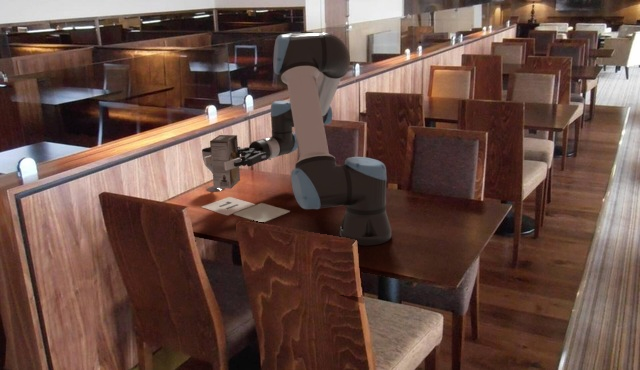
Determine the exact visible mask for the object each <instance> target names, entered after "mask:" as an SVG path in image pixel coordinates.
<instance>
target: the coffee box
mask: <svg viewBox="0 0 640 370" xmlns="http://www.w3.org/2000/svg"><path fill="white" fill-rule="evenodd" d="M238 145H239V144H238V135H237V134H233V135H231V134H219V135H218V136H216V137H213V139H212V140H210V141H209V147H210V148H211V160H212V172H211V173H213V174H212V184H213V185H212V186H214V188H225V189H227V190H230V189H233V188H234V187H235V186H236V185H237V184H238V183H239V182H240V181H241V173H240V167H236V168H233V169H230V170H227V171H226V170H225V165H224V162H226V161H230V160H233V159H237V158H239V157H238V147H239V146H238Z"/></svg>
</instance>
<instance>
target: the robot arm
mask: <svg viewBox="0 0 640 370" xmlns="http://www.w3.org/2000/svg"><path fill="white" fill-rule="evenodd" d="M272 60H273V72H274V74H276V75H277V76H278V75H279V76H280V80H281V81H282V83H284V84H285V85H287V91H288V96H289V98H288V99H289V100H274V101H272V103H271V104H270V123H271V124H270V125H271V136H269V137H264V138H262V139H258V140H254V141H252V142H251V143H250V144H249V146H247V147H246V146H245V147H242V148H241V147H240V146H238V157H239V158H237V159H233V160H230V161H226V162H224V165H225V170H226V171H227V170H230V169H233V168H236V167H239V168H240V167H242V166H243V167H245V166H247V167H249V168H250V167H252V166H254V165H256V164H258V163H261V162H265V161H267V160H269V161H270V160H272V159H273V158H277V157H280V156H285V155H289V154H291V153H293V152H294V151H296V150H297V151H298V157H299V159H298V160H297V161H296V162H295V164H294V166H295V167H294V169H292V171H291V172H290V180H291V186H292V192H293V195H294V198H295V200H296V202H297V204H298V206H299V207H301V208H302V209H304V210H320V209H327V208H335V207H341V206H345V212H344V216H343V217H342V221H341V223H340V228H339V237H340V236H341V237H346V238H350V239H355V240H357V241H358V244H359V245H358V246H367V247H368V246H377V245H378V246H379V245H382V244H384V243H387V242H388V241H390V239H392V227H391V224H390V221H389V217H388V215H387V207H386V206H387V180H388V177H387V167H386V165H385V164H384V162H382V161H380V160H378V159H375V158H371V157H365V156H350V157H347V158H346V159H345V161H344V164H337V162H336V157H335V156H334V155H332V154H330V153H329V152H330V151H329V147H328V141H327V140H328V139H327V136H326V130H325V125H330V124H331V123H332V121H333V110H332V109H333V108H332V106H331V104H332V102H333V99H334V96H335V95H336V92H337V90H338V87H339V84H340V81H342V79H343V78H344V77H345V76H346V75H347V73H348V70H349V68H350V63H351V56H350V52H349V49H348V47H347V45H346V44H345V43H344V41H343V40H342V39H341V38H339V37H338V36H336V35H335V34H332V33H330V32H310V33H309V32H308V33H306V32H305V33H291V32H290V33H286V34H280V35H277V37H276V39H275V42H274V49H273V59H272ZM293 128H294V132H293ZM203 163H205V164H204V166H205V165H209V164H212V160H211V155H210V156H207V157H204V161H203ZM341 237H340V238H341Z"/></svg>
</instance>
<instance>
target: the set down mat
mask: <svg viewBox="0 0 640 370" xmlns="http://www.w3.org/2000/svg"><path fill="white" fill-rule="evenodd" d="M290 212H291V210H288V209H284V208H282V207H276V206H274V205H270V204H267V203H264V202H260V203H258V204H256V205H254V206H251V207H248V208H246V209H243V210H241V211H238V212H235V213H233V215H234V216H237V217H239V218H240V217H241V218H244V219H246V220H249V221H253V220H254V221H253V222H256V221H258V222H257V223H259V222H264V223H266V222H269V221H272V220H273V219H276V218H278V217H281V216H283V215H285V214H288V213H290Z"/></svg>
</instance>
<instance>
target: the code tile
mask: <svg viewBox="0 0 640 370" xmlns="http://www.w3.org/2000/svg"><path fill="white" fill-rule="evenodd" d="M255 205H257V204H255V203H253V202H249V201H245V200H242V199H238V198H236V197H232V196H227V197H224V198H222V199H220V200H216V201H214V202H210V203H207V204H205V205H201V209H205V210H208V211H212V212H215V213H218V214H221V215H223V216H230V215H232V214H233V215H234V213H237V212H239V211H242V210H245V209H247V208H250V207H253V206H255Z"/></svg>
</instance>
